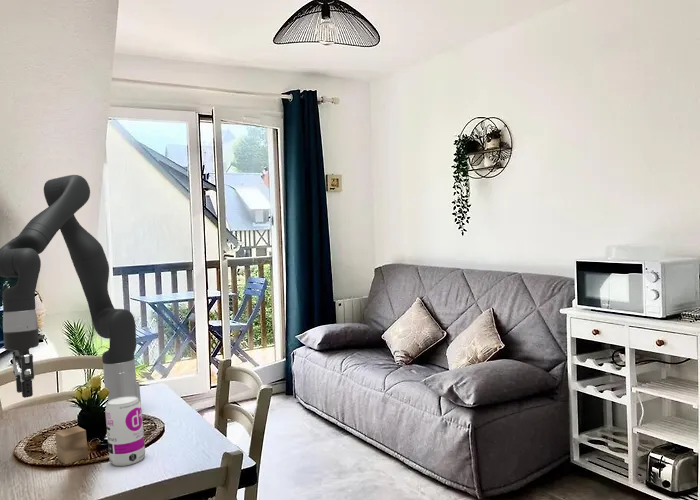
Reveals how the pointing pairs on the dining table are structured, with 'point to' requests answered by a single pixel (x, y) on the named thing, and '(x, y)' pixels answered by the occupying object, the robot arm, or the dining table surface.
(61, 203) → the robot arm
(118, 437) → the supplement can
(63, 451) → the beige wooden block
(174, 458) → the dining table surface
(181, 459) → the dining table surface
